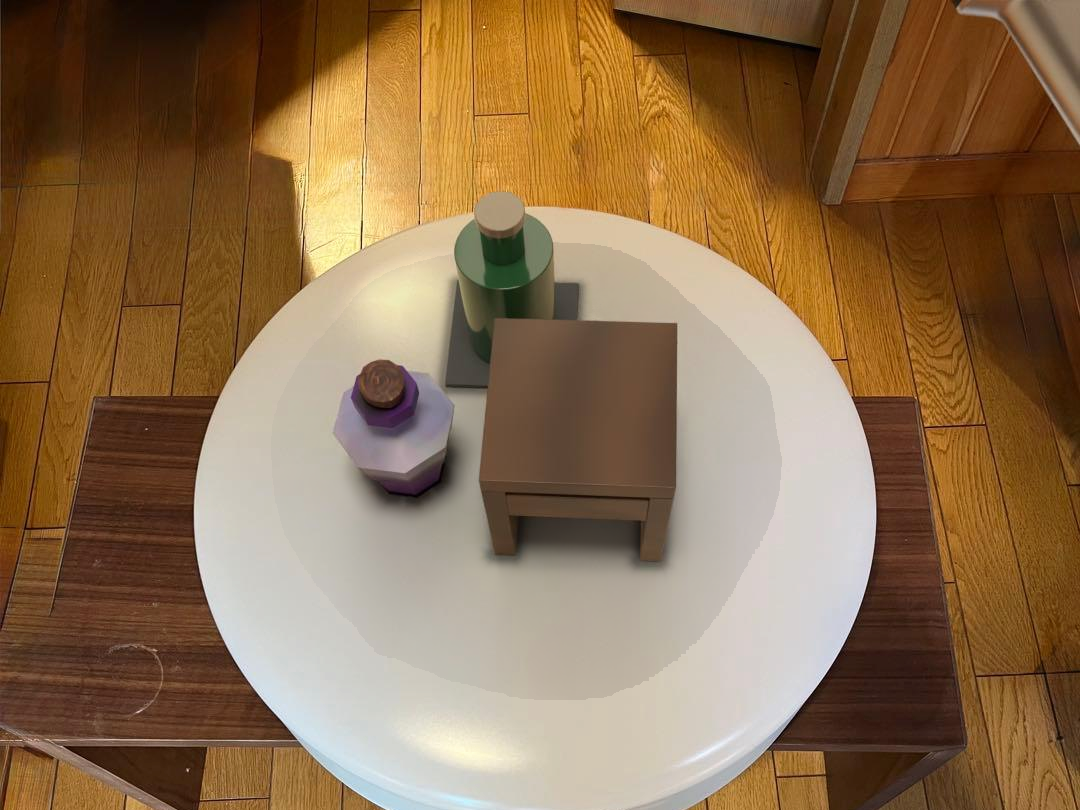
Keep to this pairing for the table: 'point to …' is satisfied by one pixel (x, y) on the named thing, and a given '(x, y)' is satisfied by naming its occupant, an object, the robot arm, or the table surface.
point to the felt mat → (463, 359)
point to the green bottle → (503, 268)
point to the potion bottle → (396, 427)
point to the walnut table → (580, 426)
